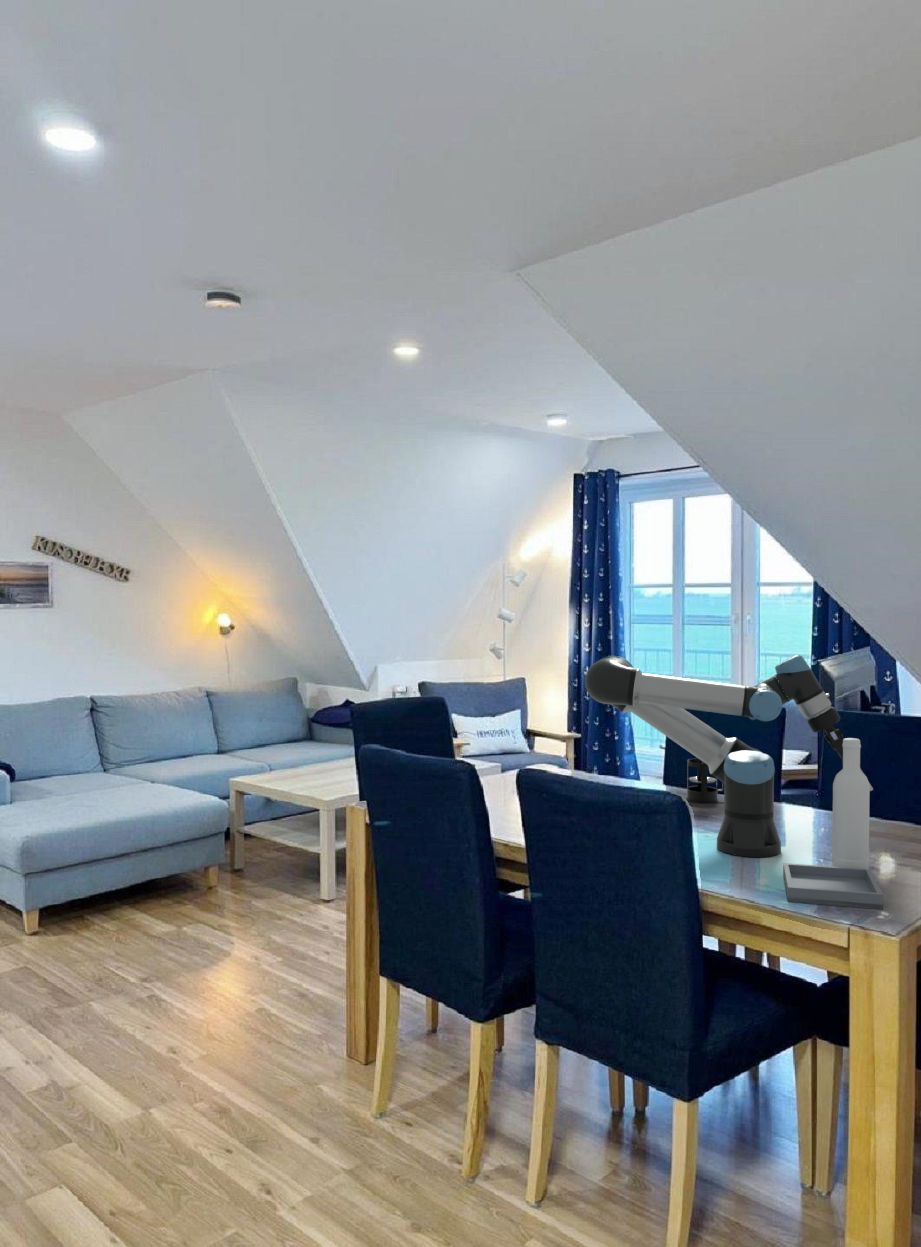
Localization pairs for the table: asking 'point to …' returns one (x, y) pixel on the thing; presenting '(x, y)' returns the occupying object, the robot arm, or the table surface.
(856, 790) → the bottle
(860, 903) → the tray
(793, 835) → the table surface
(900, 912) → the table surface
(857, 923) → the table surface
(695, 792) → the french press
